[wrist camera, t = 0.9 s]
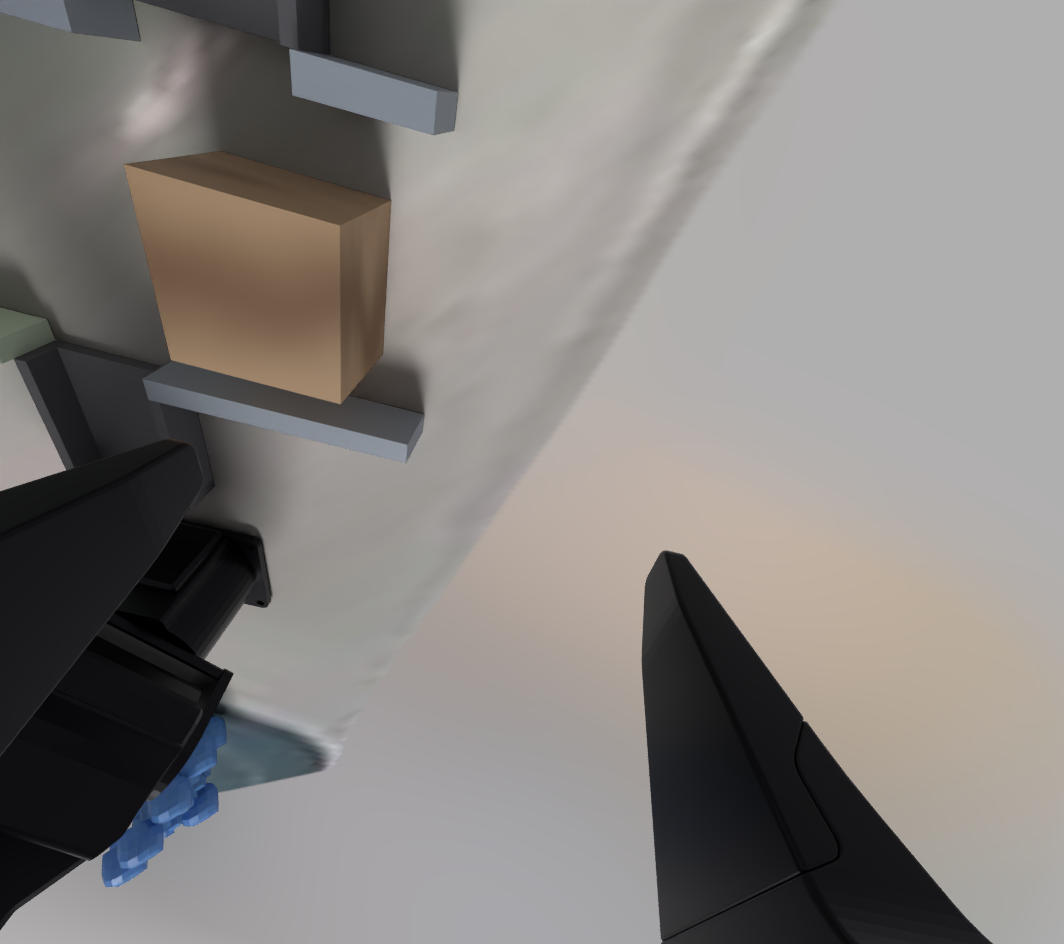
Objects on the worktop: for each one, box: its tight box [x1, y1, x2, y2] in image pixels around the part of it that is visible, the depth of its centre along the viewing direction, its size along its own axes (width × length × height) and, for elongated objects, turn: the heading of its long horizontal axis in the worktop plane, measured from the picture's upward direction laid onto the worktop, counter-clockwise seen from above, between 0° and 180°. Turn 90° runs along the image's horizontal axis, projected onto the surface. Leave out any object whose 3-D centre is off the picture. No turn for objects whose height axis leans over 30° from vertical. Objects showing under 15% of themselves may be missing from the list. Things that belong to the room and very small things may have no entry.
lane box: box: [0, 0, 458, 510], centre depth 17 cm, size 27×23×2 cm
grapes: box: [102, 716, 226, 887], centre depth 42 cm, size 12×7×12 cm, turn 141°
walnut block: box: [124, 151, 391, 404], centre depth 17 cm, size 6×6×4 cm
